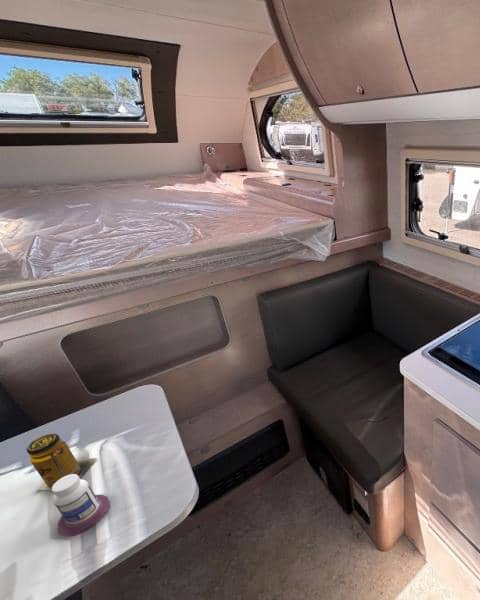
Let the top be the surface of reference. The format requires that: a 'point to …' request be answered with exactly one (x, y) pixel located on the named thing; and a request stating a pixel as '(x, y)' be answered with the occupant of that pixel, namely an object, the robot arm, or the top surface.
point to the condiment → (55, 460)
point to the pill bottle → (74, 499)
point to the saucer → (75, 529)
